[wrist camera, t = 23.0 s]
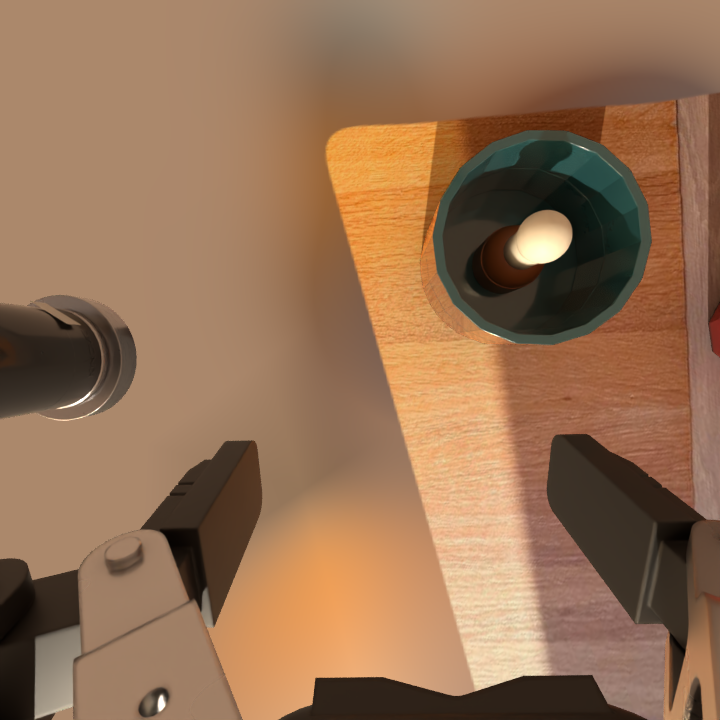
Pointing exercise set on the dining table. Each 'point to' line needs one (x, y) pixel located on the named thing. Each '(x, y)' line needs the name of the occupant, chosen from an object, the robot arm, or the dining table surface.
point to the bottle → (715, 331)
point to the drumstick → (521, 251)
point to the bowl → (511, 207)
